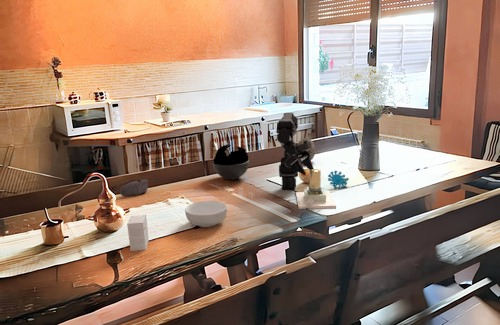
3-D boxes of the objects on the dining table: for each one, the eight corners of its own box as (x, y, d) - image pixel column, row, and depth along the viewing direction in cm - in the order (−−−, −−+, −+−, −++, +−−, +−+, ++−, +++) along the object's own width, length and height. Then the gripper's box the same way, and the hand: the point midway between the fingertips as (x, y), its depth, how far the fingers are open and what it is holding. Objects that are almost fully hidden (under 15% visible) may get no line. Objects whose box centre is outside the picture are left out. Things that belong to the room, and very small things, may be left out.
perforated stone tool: (121, 199, 212) (119, 185, 210) (119, 196, 216) (117, 182, 215) (151, 193, 218) (149, 180, 217) (148, 190, 223) (147, 177, 221)
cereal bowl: (211, 234, 164) (209, 217, 163) (177, 227, 173) (176, 210, 171) (235, 219, 178) (235, 203, 177) (203, 213, 187) (202, 198, 185)
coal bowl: (208, 177, 243) (206, 144, 238) (241, 171, 250) (240, 140, 246) (220, 186, 225) (218, 150, 220) (256, 180, 232) (254, 146, 228)
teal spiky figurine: (330, 187, 210) (327, 169, 215) (326, 193, 215) (322, 175, 220) (351, 187, 212) (347, 170, 217) (346, 193, 217) (342, 176, 222)
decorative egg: (296, 159, 273) (295, 136, 269) (315, 159, 271) (314, 136, 268) (295, 164, 262) (295, 140, 258) (315, 164, 260) (315, 139, 256)
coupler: (309, 200, 194) (309, 172, 191) (308, 196, 199) (308, 169, 196) (321, 200, 194) (322, 172, 191) (320, 196, 199) (320, 169, 196)
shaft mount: (298, 209, 186) (298, 200, 185) (295, 193, 208) (295, 185, 207) (336, 208, 186) (336, 199, 185) (329, 192, 208) (329, 184, 207)
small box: (133, 242, 161) (130, 215, 158) (149, 240, 161) (146, 214, 159) (130, 251, 153) (126, 223, 151) (146, 250, 154) (143, 222, 151)
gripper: (292, 137, 188) (314, 166, 185) (309, 132, 204) (329, 159, 201) (275, 152, 193) (296, 180, 190) (293, 146, 209) (312, 172, 206)
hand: (309, 172), depth 197 cm, fingers open, 9 cm apart
